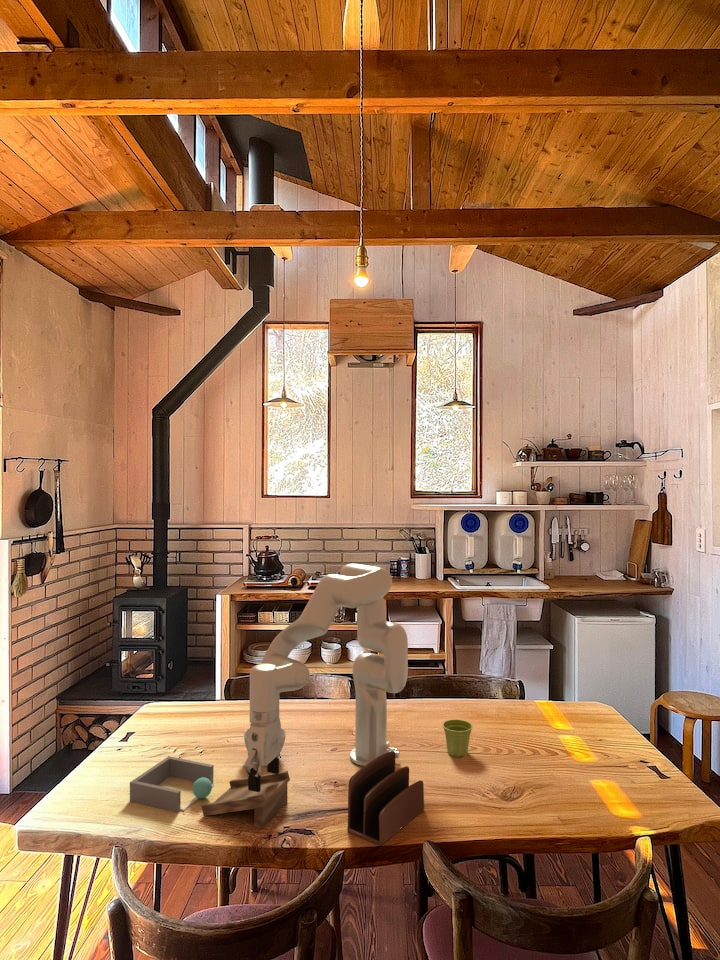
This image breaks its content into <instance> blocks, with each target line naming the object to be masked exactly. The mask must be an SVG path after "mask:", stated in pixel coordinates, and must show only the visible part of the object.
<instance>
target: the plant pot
mask: <svg viewBox="0 0 720 960" xmlns="http://www.w3.org/2000/svg"><path fill="white" fill-rule="evenodd" d="M442 728H443V731H444V734H445V742H446V743H445V744H446V748H447V750H446V751H447V753H448V754H449V755H450V756H452V757H456V758H457V757H458V758H459V757H465V756H467V755H468V751H469V744H470V743H469V742H470V736H471V733H472V730H473V729H474V727H473V724H472V723H471V722H470V721H467V720H464V719H457V718H456V719H455V718H454V719H448V720H445V721H443V722H442Z"/></svg>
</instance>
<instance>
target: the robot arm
mask: <svg viewBox="0 0 720 960" xmlns="http://www.w3.org/2000/svg"><path fill="white" fill-rule="evenodd" d="M392 585H393V577H392V575H391V573H390V572H389V570H387V569H386V568H384V567H380V566H373V565H366V564H360V563H348V564H345V565H344V566H342V567H341V569H340V572H339V574H336V573H335V574H334V573H329V574H326V575H324V576H322V577H321V579H320V580H319V581H318V584H317V585H316V587H315V588H314V591H313V593H312V594H311V596H310V598H309V600H308V602H307V603H306V605H305V607H304V609H303V611H302V613H301V614H300V616H299V617H298V619H295V621H293V622H291V623H290V624H289V625H288V626H286V627H285V628H284V629H283V630H281V631H280V632H279V633H278V634H277V635H276V636H274V639H273V640H272V642H271V643H270V645H269V647H268V649H267V650H266V652H265V653H264V655H263V657H262V659H261V663H259V664H256V665H253V666H252V667H251V669H250V671H249V723H250V724H249V728H250V730H249V740H248V751H247V758H246V760H245V762H244V768H245V772H246V775H247V777H248V790H250V791H255V792H260V790H261V775H262V774H260V773H261V770H262V767H266V766H267V768H266V769H267V770H266V771H267V773H268V774H271V773H274V774H278V773H279V772H280V757H281V752H282V749H283V748H282V735H281V728H282V725H281V724H282V723H281V718H280V694H281V693H285V692H293V691H298V690H300V689H302V688H303V687H305V686H306V684H308V681H309V680H310V670H309V667H308V666H307V665H306V664H305V663H304V662H302V661H300V660H297V659H294V658H292V657H289V655H290V654H291V652H293V650H294V649H295V648H296V647H297V646H298V645H301V644H302V643H304V642H307V641H310V640H311V639H315V638H318V637H321V636H324V635H326V634H327V632H328V630H329V629H330V627H331V625H332V623H333V621H334V620H335V617H336V615H337V613H338V611H339V610H340V608H341V607H344V608H349V609H357V610H356V611H357V613H356V614H357V615H356V617H357V621H356V622H357V625H356V626H357V627H356V630H357V631H356V632H357V642H358V644H359V646H360V647H361V648H363V649H365V650H368V651H370V652H362V653H361V654H359V655H358V656H357V657H355V659H354V660H353V664H352V678H353V685H354V691H355V725H354V726H355V730H354V732H355V735H354V736H355V738H354V740H355V742H354V743H355V746H354V747H355V748H353V749H352V750H351V751H350V753H349V758H350V761H351V762H353V763H354V764H356V765H358V766H361V767H364V766H365V765H367V764H368V763H370V762H371V761H373V760H374V759H376V758H377V757H379V756H381V755H383V754H385V753H387V752H390V751H395V754H396V759H400V756H401V755H400V751H399V748H396V747H391V746H390V741H388V740H387V731H388V729H387V726H388V725H387V724H388V721H387V720H388V719H387V717H388V716H387V715H388V714H387V711H388V710H387V707H388V701H387V695H386V694H387V693H390V694H398V693H400V692H402V691H403V689H404V688H405V687H406V683H407V681H408V671H409V669H408V668H409V667H408V666H409V664H408V662H409V661H408V660H409V659H408V658H409V654H408V653H409V650H408V649H409V642H408V635H407V632H406V630H405V628H404V626H402V625H401V624H398V623H396V622H393V621H388V620H387V618H386V617H387V616H386V604H385V599H384V598H385V596H386V595H387V594H388V593H389V592H390V590H391V588H392ZM373 652H375V653H373ZM377 653H378V654H377ZM381 654H383V655H381ZM386 692H387V693H386ZM256 760H258V762H256ZM255 766H256V769H255V768H254V767H255Z"/></svg>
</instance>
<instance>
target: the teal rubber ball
mask: <svg viewBox="0 0 720 960" xmlns="http://www.w3.org/2000/svg"><path fill="white" fill-rule="evenodd" d="M212 790H213V787H212V783H211V781H210V780H209V779H208V778H205V777H202V778H199V779H197V780H196V781H195V782H193V784H192V794H193V796H195V797H197V798H199V799H205V798H207V797H208V796H209V795H210V794H211V792H212Z"/></svg>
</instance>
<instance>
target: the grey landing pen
mask: <svg viewBox="0 0 720 960" xmlns="http://www.w3.org/2000/svg"><path fill="white" fill-rule="evenodd" d="M169 777H172V778H175V779H181V780H185V781H191V782H193V783H195V781H196V780H197V779H199V778H202V777H205V778H208V779H209V780H210V781H211V783H212V788H213V787H215V784H214V764H209V763H205V762H201V761H194V760H191V759H186V758H185V759H184V758H179V757H174V756H167V757H166V758H164V759H162V760H161V761H160V762H157V763H156V764H155V765H154V766H152V767H151V768H150V767H149V769H147V770H146V771H145V772H143V773H141V774H140V775H139V776H137V777H135V778H134V779H133V780H131V781H130V782H129V802H131V803H135V804H139V805H143V806H147V807H148V806H149V807H152V808H156V809H157V808H158V809H160V810H166V811H170V812H174V813H179V812H180V811H183V812H184V811H185V810H187V809H188V808H189V807H190V806H191V805H193V804H194V803H195V802H196V801H198V800H199V799H200V798H197V797H196V796H195V797H193V798H192V799H190V801H188V802H186V803H185V805H183V807H181V805H182V804H181V798H182V797H181V792H182V791H181V790H180V789H175V788H169V787H166V786H161V785H159V784H161V783H163V782H164V781H165V780H166V779H168V778H169Z"/></svg>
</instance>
